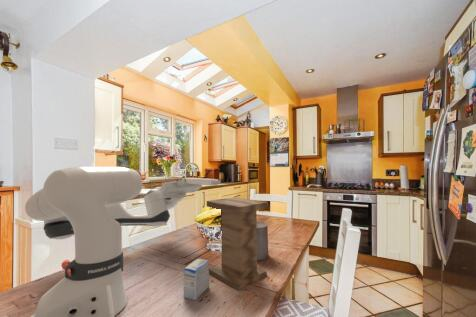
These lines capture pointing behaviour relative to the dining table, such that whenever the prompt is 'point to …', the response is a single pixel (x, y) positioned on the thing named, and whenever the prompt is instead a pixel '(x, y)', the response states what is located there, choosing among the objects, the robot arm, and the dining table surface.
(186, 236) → the dining table surface
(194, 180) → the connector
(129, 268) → the dining table surface
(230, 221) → the stand
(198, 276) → the medicine box
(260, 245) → the pillar candle
